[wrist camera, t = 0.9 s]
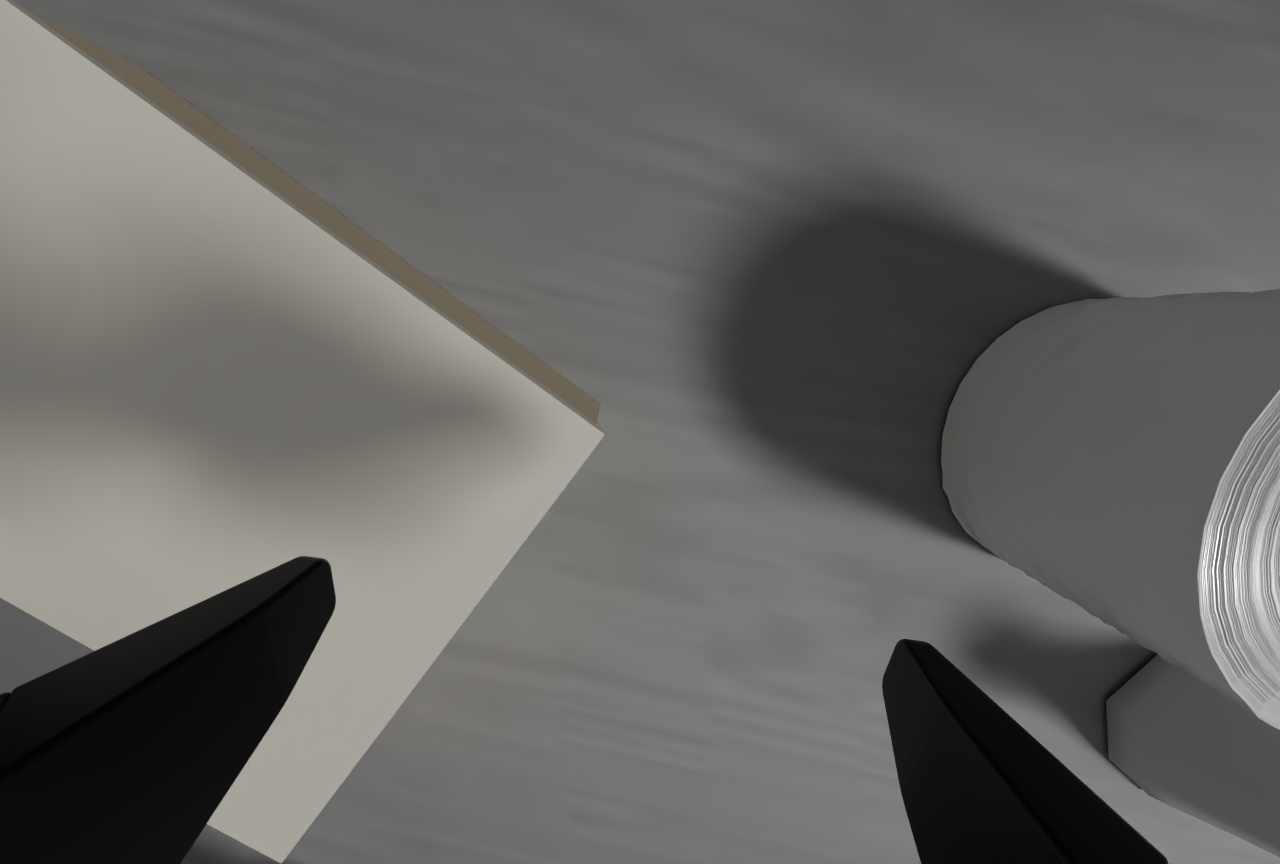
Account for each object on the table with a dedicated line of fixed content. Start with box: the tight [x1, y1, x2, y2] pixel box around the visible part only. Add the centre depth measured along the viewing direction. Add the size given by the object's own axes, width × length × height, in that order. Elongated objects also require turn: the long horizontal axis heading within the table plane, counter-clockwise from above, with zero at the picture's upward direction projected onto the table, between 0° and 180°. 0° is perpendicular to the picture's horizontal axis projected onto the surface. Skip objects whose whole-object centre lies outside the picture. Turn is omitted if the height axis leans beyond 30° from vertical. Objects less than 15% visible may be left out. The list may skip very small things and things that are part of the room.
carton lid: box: [0, 0, 605, 864], centre depth 13 cm, size 16×18×6 cm
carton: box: [16, 2, 600, 424], centre depth 18 cm, size 16×18×5 cm
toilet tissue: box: [941, 289, 1280, 730], centre depth 17 cm, size 11×12×10 cm
